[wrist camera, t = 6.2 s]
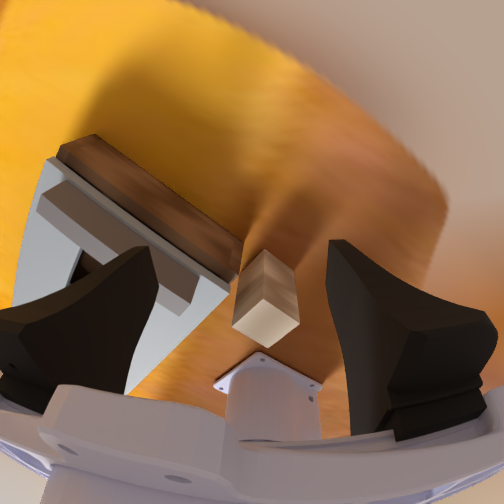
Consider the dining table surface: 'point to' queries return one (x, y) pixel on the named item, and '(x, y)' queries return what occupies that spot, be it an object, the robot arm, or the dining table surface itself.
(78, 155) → the toolbox
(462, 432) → the robot arm
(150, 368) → the toolbox lid
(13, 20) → the dining table surface
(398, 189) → the dining table surface
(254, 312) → the wooden block
